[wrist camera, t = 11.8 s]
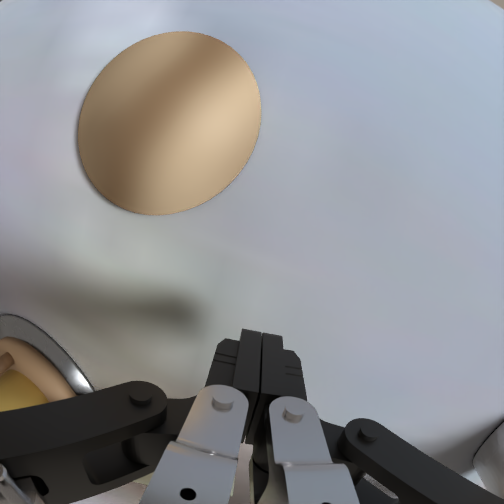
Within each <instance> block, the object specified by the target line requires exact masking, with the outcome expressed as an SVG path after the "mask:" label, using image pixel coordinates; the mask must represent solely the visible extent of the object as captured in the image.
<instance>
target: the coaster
mask: <svg viewBox="0 0 504 504" xmlns="http://www.w3.org/2000/svg"><path fill="white" fill-rule="evenodd" d="M260 124H261V103H260V94H259V90H258V86H257V83H256V80H255V78H254V75H253V73H252V71H251V70H250V68H249V66H248V65H247V63H246V62H245V61H244V59H243V58H242V57H241V56H240V55H239V54H238V53H237V52H236V51H235V50H234V49H232V48H231V47H230V46H228V45H227V44H225V43H224V42H222V41H220V40H218V39H216V38H213V37H211V36H208V35H204V34H201V33H195V32H168V33H163V34H158V35H154V36H151V37H149V38H146V39H143V40H141V41H139V42H137V43H135V44H133V45H131V46H130V47H128V48H127V49H125V50H124V51H122V52H121V53H120V54H118V55H117V56H116V57H115V58H114V59H113V60H112V61H111V62H110V63H109V64H108V65H107V66H106V67H105V68H104V69H103V70H102V71H101V73H100V74H99V75H98V77H97V78H96V80H95V81H94V83H93V84H92V86H91V88H90V90H89V92H88V94H87V96H86V98H85V101H84V104H83V107H82V110H81V115H80V119H79V127H78V144H79V152H80V156H81V160H82V163H83V166H84V168H85V171H86V173H87V175H88V177H89V178H90V180H91V182H92V183H93V184H94V186H95V187H96V188H97V190H98V191H99V192H100V193H101V194H102V195H103V196H105V197H106V198H107V199H108V200H110V201H111V202H112V203H114V204H116V205H117V206H119V207H121V208H123V209H126V210H129V211H132V212H135V213H140V214H145V215H166V214H173V213H177V212H181V211H185V210H188V209H191V208H193V207H196V206H199V205H201V204H203V203H204V202H206V201H208V200H210V199H212V198H213V197H214V196H216V195H217V194H219V193H220V192H222V191H223V190H224V189H225V188H226V187H227V186H228V185H229V184H230V183H231V182H232V181H233V180H234V179H235V178H236V177H237V176H238V174H239V173H240V172H241V170H242V169H243V167H244V166H245V164H246V163H247V162H248V160H249V158H250V156H251V154H252V152H253V150H254V147H255V144H256V141H257V138H258V134H259V129H260Z"/></svg>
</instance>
